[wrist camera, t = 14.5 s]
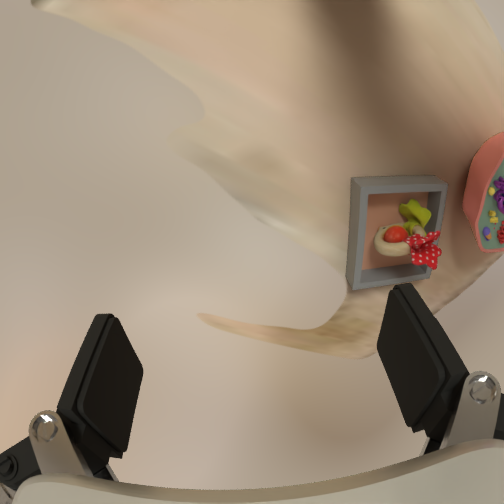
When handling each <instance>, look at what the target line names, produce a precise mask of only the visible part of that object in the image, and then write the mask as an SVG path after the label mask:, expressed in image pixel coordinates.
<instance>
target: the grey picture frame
mask: <svg viewBox="0 0 504 504" xmlns="http://www.w3.org/2000/svg"><path fill="white" fill-rule="evenodd" d="M447 188H448V184H447V183H446V182H444V181H443V180H441V179H440V178H438V177H436V176H435V175H416V176H377V177H354V178H351V197H350V221H349V239H348V253H347V266H346V278H347V280H348V282H349V284H350V286H351V288H352V290H358V289H365V288H372V287H379V286H385V285H391V284H398V283H404V282H410V281H416V280H422V279H428V278H430V275H431V271H432V269H431V268H430V267H428V266H427V265H426V264H423V265H419V266H418V265H414V264H412V261H411V255H404V256H385V255H382V254H380V253H379V252H378V251H377V250H376V249H375V247H374V242H373V241H374V236H375V234H376V233H377V232H378V228H379V227H384V226H388V225H392V224H396V223H406V222H408V220H407V218H406V217H404V216H403V215H402V214H401V213H400V212H399V205H400V204H401V203H403V204H407V203H409V200H410V199H415V200H417V201H418V203H419V204H420V206H421V207H423V208H427V209H428V210H429V211H430V212H431V217H430V219H429V221H428V223H427V224H426V225H425V226H424V231H425V232H426V235H427V234H428V233H429V232H434V233H435V232H436V231H441V225H442V220H443V214H444V208H445V202H446V195H447ZM439 236H440V235H439ZM409 237H410V236H409ZM438 240H439V237H438V239H437V240H436V241H434V242H433V243H431V244H435V245H436V246H437V245H438Z"/></svg>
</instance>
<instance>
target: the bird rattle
mask: <svg viewBox="0 0 504 504" xmlns="http://www.w3.org/2000/svg"><path fill="white" fill-rule="evenodd" d="M399 212H400V213H401V214H402V215H403V216H404V217H406V218H407V220H408V222H406V223H396V224H392V225H388V226H384V227H379V228H378V232H377V233H376V234H375V236H374V241H373V242H374V247H375V249H376V250H377V251H378V252H379V253H380V254H382V255H385V256H404V255H411V261H412V264H414V265H418V266H419V265H423V264H426V265H427V266H428V267H430V268H431V269H433V270H435V269H436V268H437V257H438V256H440V255H441V253H442V252H441V249H440V248H439V247H438V246H436V245H435V244H431V243H433V242H434V241H436V240H437V239H438V237H439V235H440V231H436V232H435V233H434V232H429V233H428V234H427V235H426V232H425V231H424V226H425V225H426V224H427V223H428V221H429V219H430V217H431V212H430V211H429V210H428V209H427V208H423V207H421V206H420V204H419V203H418V201H417V200H415V199H410V200H409V203H407V204H403V203H401V204H400V205H399ZM409 236H410V237H409Z"/></svg>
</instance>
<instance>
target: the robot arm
mask: <svg viewBox="0 0 504 504" xmlns="http://www.w3.org/2000/svg"><path fill="white" fill-rule="evenodd" d="M377 350H378V353H379V356H380V358H381V361H382V363H383V365H384V368H385V370H386V373H387V375H388V378H389V380H390V383H391V386H392V388H393V391H394V393H395V396H396V398H397V401H398V403H399V406H400V409H401V412H402V415H403V417H404V420H405V423H406V425H407V426H408V427H411V428H412V431H413V433H415V432H418V431H421V430H425V432H426V435H427V439H426V442H425V444H424V446H423V449H422V451H421V453H420V456H419V457H416V458H413V459H410V460H407V461H404V462H401V463H397V464H394V465H390V466H387V467H383V468H380V469H376V470H372V471H368V472H364V473H360V474H356V475H351V476H347V477H342V478H337V479H332V480H326V481H321V482H314V483H307V484H300V485H293V486H284V487H275V488H261V489H243V490H195V489H175V488H163V487H154V486H145V485H138V484H130V483H123V482H119V481H118V479H117V477H116V476H115V474H114V472H113V471H112V469H111V467H110V466H109V464H108V462H109V457H114V458H120V459H122V455H123V452H125V451H126V450H127V448H128V442H129V438H130V432H131V428H132V423H133V418H134V413H135V408H136V404H137V399H138V395H139V390H140V385H141V381H142V377H143V367H142V364H141V363H140V361H139V359H138V357H137V355H136V353H135V351H134V349H133V347H132V345H131V343H130V341H129V339H128V337H127V335H126V333H125V331H124V329H123V327H122V325H121V323H120V321H119V319H118V318H116V317H114V315H113V314H97V315H96V316H95V318H94V320H93V322H92V324H91V326H90V328H89V330H88V332H87V335H86V337H85V339H84V341H83V344H82V346H81V348H80V350H79V353H78V355H77V357H76V360H75V362H74V364H73V367H72V369H71V372H70V374H69V377H68V379H67V382H66V384H65V387H64V389H63V392H62V395H61V397H60V400H59V403H58V405H57V411H56V413H55V412H54V411H50V410H45V411H42V412H40V413H38V414H37V415H35V417H34V418H33V419H32V421H31V423H30V425H29V436H28V437H27V438H25V439H24V440H22V441H21V442H19V443H17V444H16V445H14V446H12V447H11V448H9V449H7V450H6V451H4V452H3V453H1V454H0V504H504V394H502V393H501V388H500V385H499V382H498V381H497V380H496V378H495V377H494V376H493V375H491V374H490V373H487V372H483V371H477V372H473V373H471V374H469V372H468V370H467V368H466V367H465V365H464V363H463V361H462V359H461V358H460V356H459V354H458V353H457V351H456V349H455V348H454V346H453V344H452V343H451V341H450V340H449V338H448V336H447V335H446V333H445V331H444V330H443V328H442V326H441V325H440V323H439V322H438V320H437V319H436V318H435V317H434V316H433V314H432V313H431V311H430V310H429V308H428V307H427V305H426V304H425V302H424V301H423V299H422V298H421V296H420V295H419V293H418V292H417V291H416V289H415V288H414V286H413V285H412V284H411V283H405V284H399V285H395V286H394V288H393V290H390V292H389V295H388V300H387V304H386V309H385V313H384V317H383V322H382V326H381V330H380V334H379V337H378V341H377Z"/></svg>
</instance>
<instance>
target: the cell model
mask: <svg viewBox="0 0 504 504" xmlns="http://www.w3.org/2000/svg"><path fill="white" fill-rule="evenodd" d="M462 209H463V211H464V213H465V215H466V217H467V219H468V221H469V223H470V226H471V230H472V233H473V235H474V238H475V240H476V242H477V244H478V246H479V248H480V250H481V251H483V252H487V253H491V252H500V251H504V132H501V133H499V134H496V135H494V136H493V137H491V138H489V139H488V140H486V141H485V142H484V144H483V145H482V146H481V147H480V149H479V150H478V151H477V153H476V154H475V156H474V158H473V160H472V162H471V165H470V169H469V174H468V178H467V183H466V187H465V191H464V196H463V202H462Z"/></svg>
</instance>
